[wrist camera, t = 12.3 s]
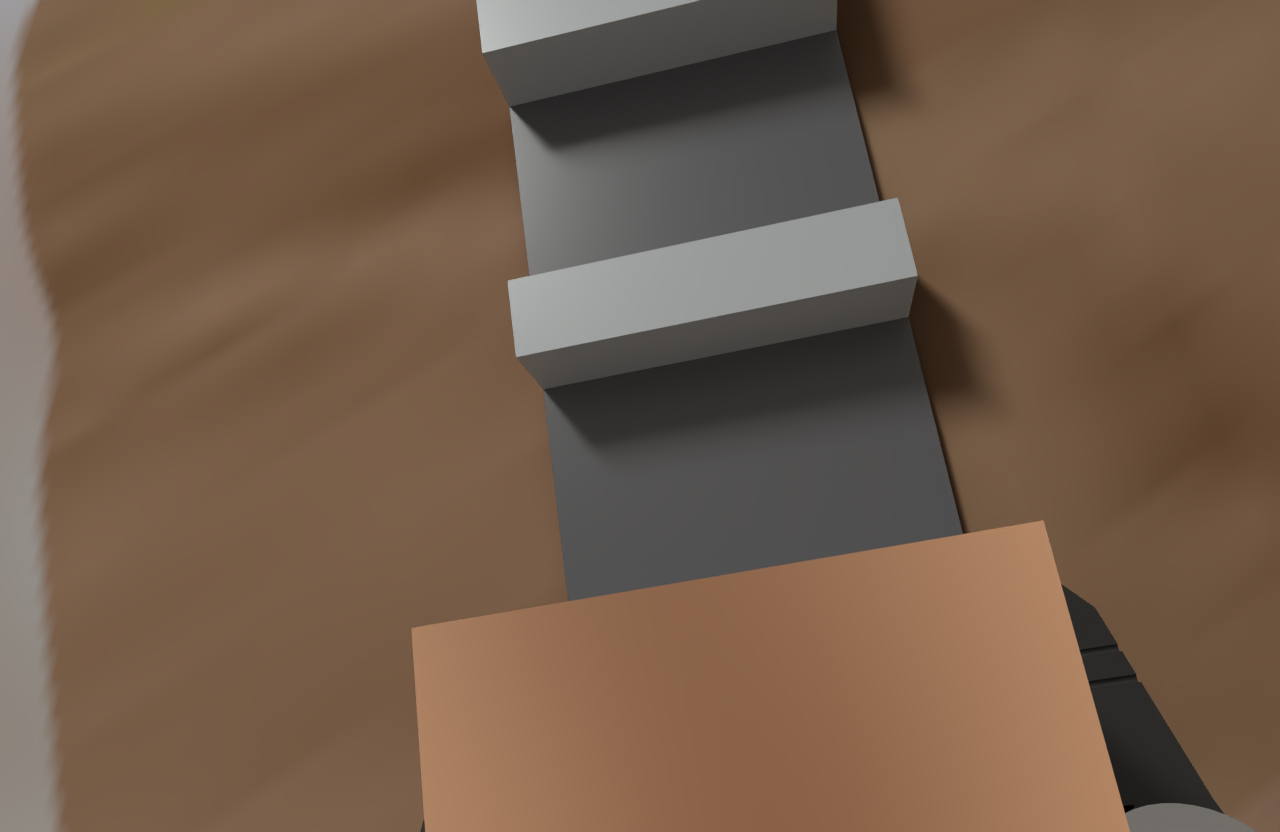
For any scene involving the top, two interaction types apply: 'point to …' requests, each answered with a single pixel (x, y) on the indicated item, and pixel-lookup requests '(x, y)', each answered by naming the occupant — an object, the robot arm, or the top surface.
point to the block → (777, 702)
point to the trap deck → (710, 291)
